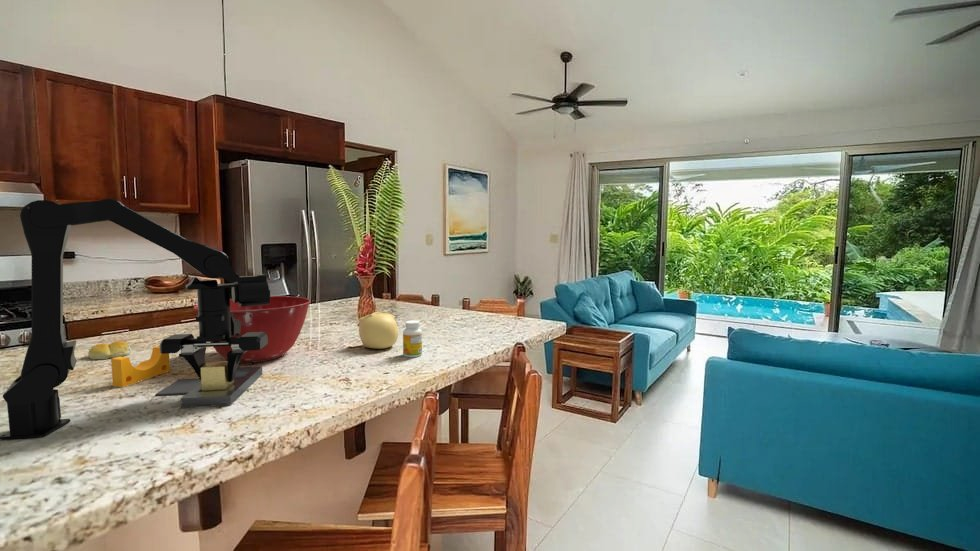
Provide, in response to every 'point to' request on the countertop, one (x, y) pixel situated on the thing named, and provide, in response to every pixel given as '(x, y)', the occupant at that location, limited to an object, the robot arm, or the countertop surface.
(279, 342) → the mixing bowl
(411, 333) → the supplement bottle
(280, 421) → the countertop surface
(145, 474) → the countertop surface
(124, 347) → the bread roll
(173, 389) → the mat
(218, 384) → the pale yellow block
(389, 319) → the pale yellow melon
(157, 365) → the pipe clamp
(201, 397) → the gray slotted plate
